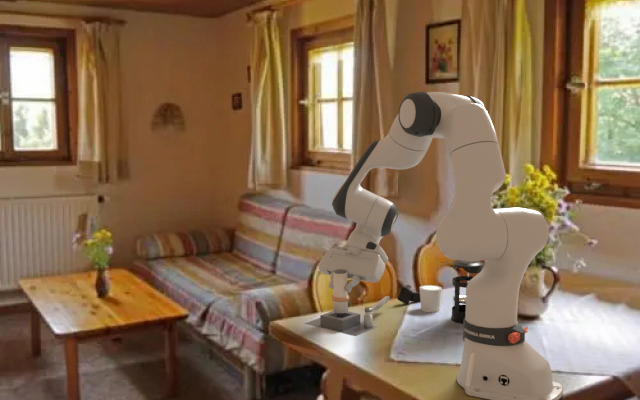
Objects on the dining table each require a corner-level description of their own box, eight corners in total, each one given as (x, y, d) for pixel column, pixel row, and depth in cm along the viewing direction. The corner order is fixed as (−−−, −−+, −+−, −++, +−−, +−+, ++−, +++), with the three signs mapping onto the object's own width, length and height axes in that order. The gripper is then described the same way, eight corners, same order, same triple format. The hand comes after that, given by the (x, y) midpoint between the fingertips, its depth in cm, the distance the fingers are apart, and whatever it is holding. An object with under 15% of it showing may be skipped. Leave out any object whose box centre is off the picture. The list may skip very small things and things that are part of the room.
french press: (466, 327, 190) (467, 246, 188) (442, 319, 198) (443, 241, 195) (494, 319, 197) (496, 242, 194) (470, 312, 205) (472, 237, 202)
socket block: (377, 330, 188) (377, 315, 188) (355, 339, 180) (355, 324, 180) (326, 318, 200) (326, 304, 199) (304, 326, 192) (304, 312, 191)
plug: (352, 310, 189) (352, 270, 188) (342, 314, 186) (341, 273, 184) (339, 307, 192) (338, 267, 191) (328, 311, 189) (328, 270, 188)
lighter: (412, 309, 218) (419, 293, 219) (417, 310, 216) (424, 294, 217) (395, 298, 213) (402, 282, 214) (400, 299, 211) (407, 283, 212)
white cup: (430, 314, 203) (430, 291, 202) (414, 309, 209) (414, 286, 208) (446, 310, 207) (446, 287, 206) (430, 305, 213) (430, 283, 212)
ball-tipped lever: (370, 316, 186) (370, 309, 186) (363, 315, 187) (363, 308, 187) (390, 300, 203) (390, 293, 203) (384, 299, 204) (384, 293, 203)
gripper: (326, 239, 199) (305, 277, 193) (384, 246, 186) (363, 288, 180) (336, 251, 203) (315, 290, 196) (393, 259, 190) (373, 301, 183)
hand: (339, 289), depth 188 cm, fingers closed on plug, 4 cm apart
